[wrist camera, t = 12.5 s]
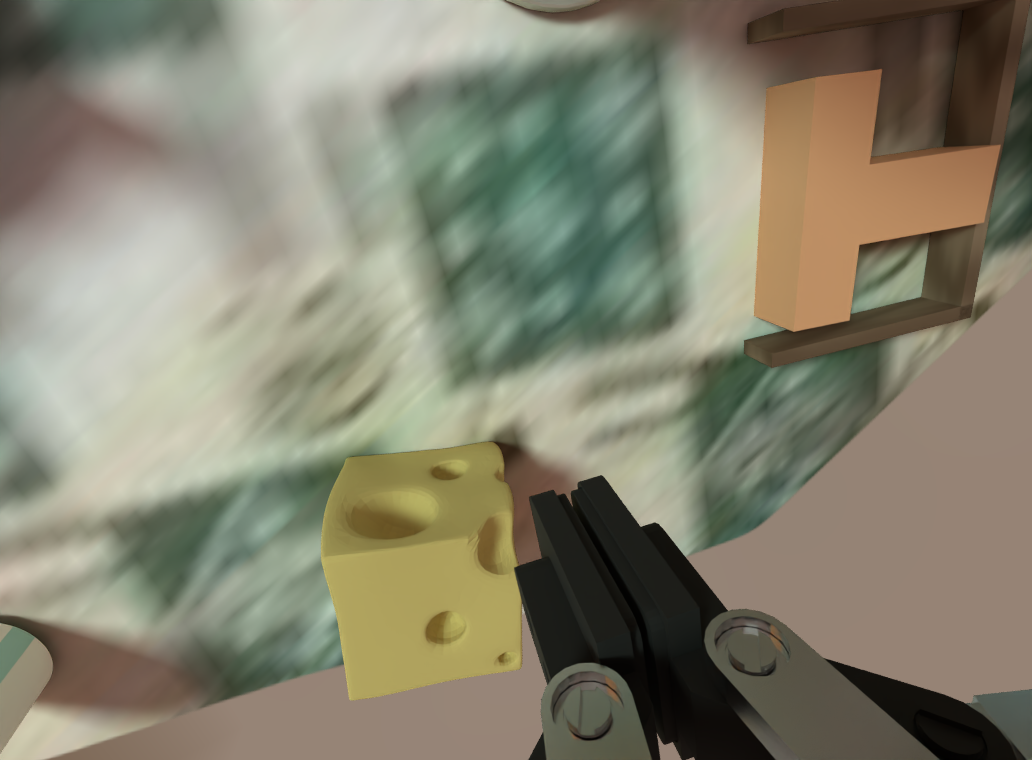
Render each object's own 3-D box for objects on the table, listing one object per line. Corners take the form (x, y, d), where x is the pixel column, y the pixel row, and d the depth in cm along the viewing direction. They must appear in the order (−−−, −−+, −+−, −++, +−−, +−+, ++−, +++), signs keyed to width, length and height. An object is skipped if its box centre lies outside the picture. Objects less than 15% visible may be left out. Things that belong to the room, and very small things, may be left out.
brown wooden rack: (747, 23, 30) (784, 8, 27) (980, -13, 32) (1036, -30, 29) (744, 353, 38) (771, 367, 35) (930, 307, 40) (970, 317, 37)
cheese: (496, 436, 36) (532, 526, 27) (496, 564, 40) (528, 681, 31) (334, 451, 34) (314, 555, 25) (352, 584, 38) (340, 717, 29)
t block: (766, 87, 31) (816, 76, 28) (951, 65, 33) (1020, 52, 30) (753, 315, 37) (793, 331, 33) (913, 284, 39) (967, 296, 35)
